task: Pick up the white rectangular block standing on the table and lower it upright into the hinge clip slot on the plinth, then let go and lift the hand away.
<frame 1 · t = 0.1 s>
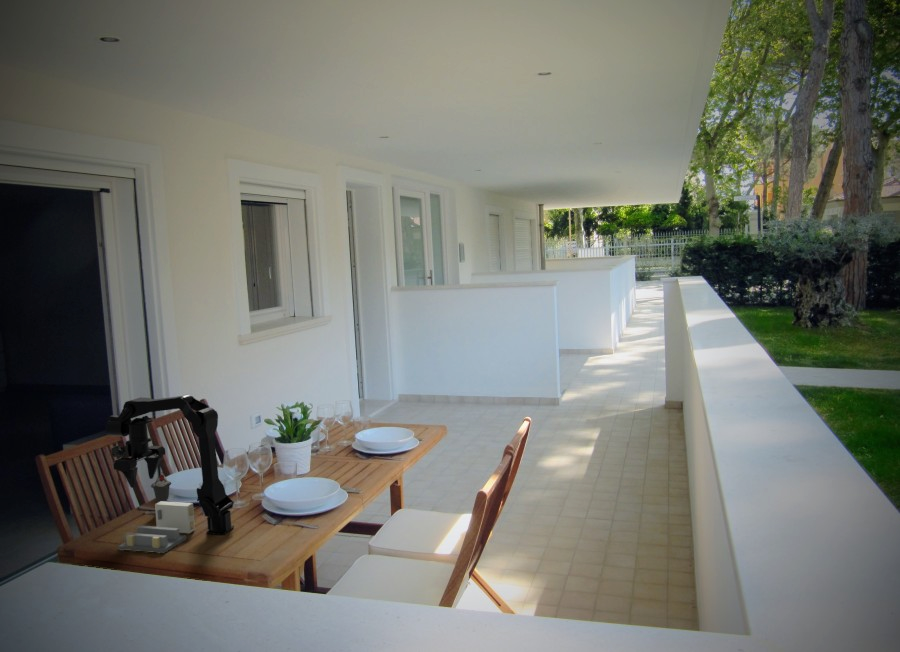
hand: (142, 482, 230), 15 cm above the table, tool pointing down, fingers open, 9 cm apart
white rectangular block: (175, 530, 227), on the table
clip plinth: (152, 544, 216), on the table
sundae: (163, 512, 244), on the table
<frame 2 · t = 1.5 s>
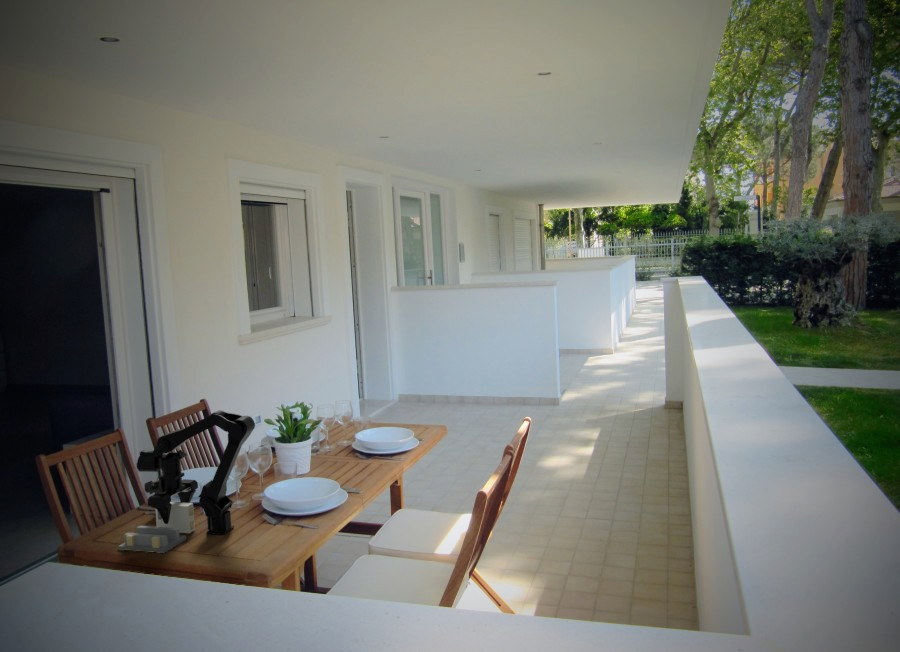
hand: (175, 518, 226), 4 cm above the table, tool pointing down, fingers open, 9 cm apart
nothing on the table moved.
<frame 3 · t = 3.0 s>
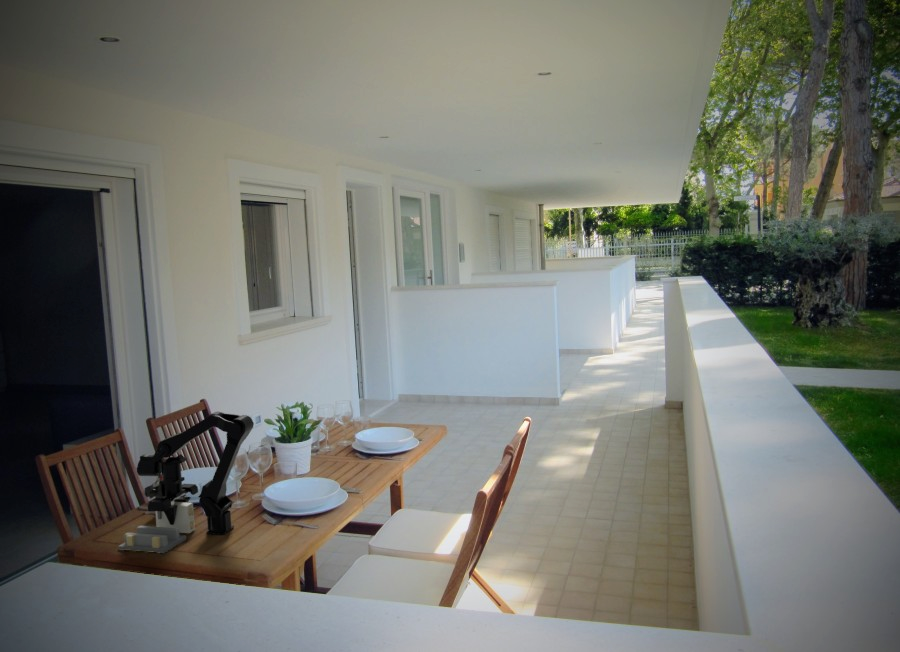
hand: (175, 522, 226), 3 cm above the table, tool pointing down, fingers closed on white rectangular block, 3 cm apart
white rectangular block: (175, 530, 227), on the table, touching gripper
everything else where it was.
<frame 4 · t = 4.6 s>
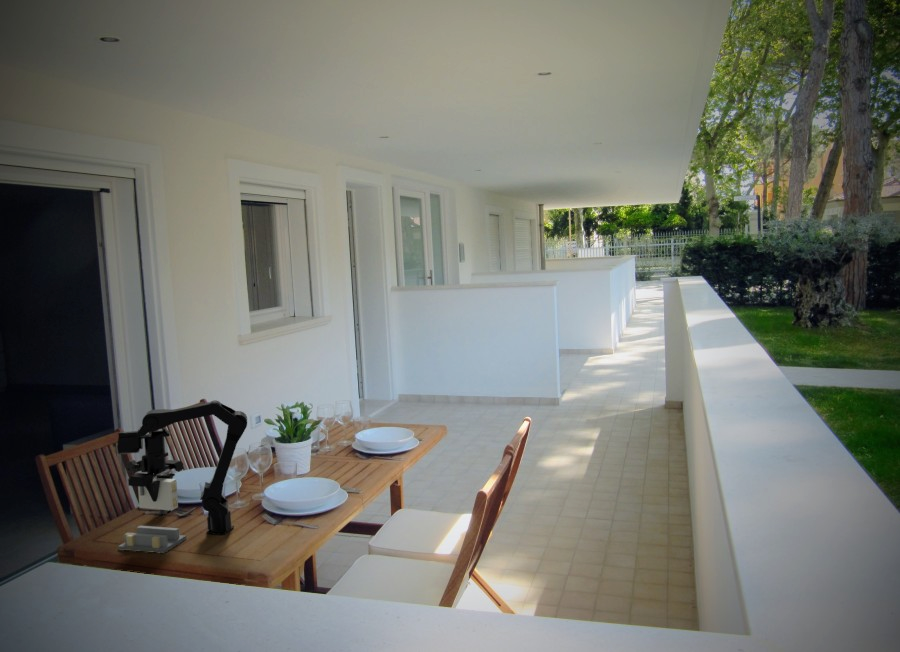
hand: (158, 499, 219), 13 cm above the table, tool pointing down, fingers closed on white rectangular block, 3 cm apart
white rectangular block: (158, 507, 219), point 10 cm above the table, touching gripper
everything else where it was.
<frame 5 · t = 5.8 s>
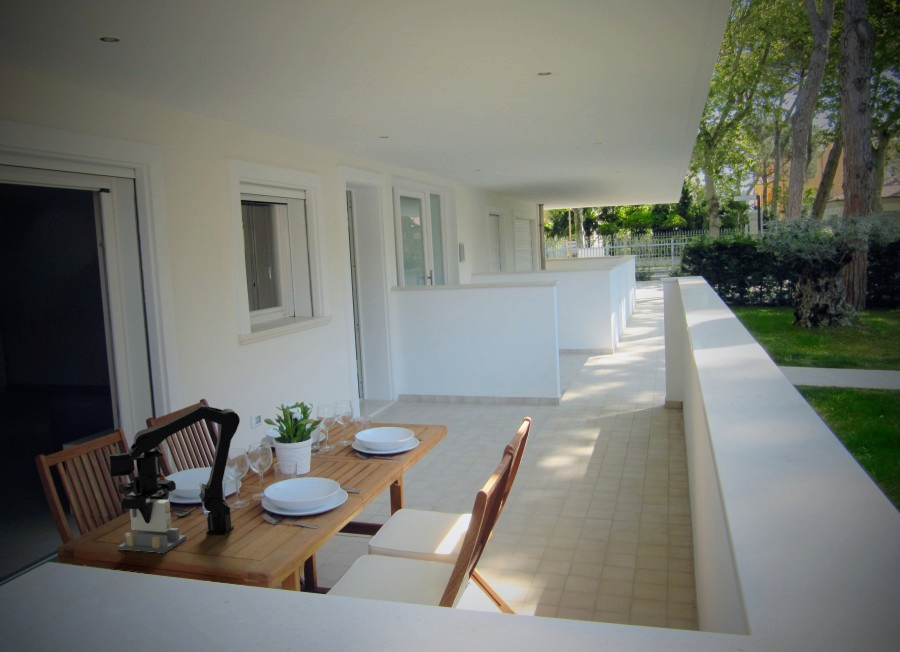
hand: (151, 521, 215), 7 cm above the table, tool pointing down, fingers closed on white rectangular block, 3 cm apart
white rectangular block: (151, 529, 215), point 5 cm above the table, touching gripper
everything else where it was.
when the fingers open (6 cm above the table, at t = 6.7 s): white rectangular block drops 2 cm, resting on clip plinth.
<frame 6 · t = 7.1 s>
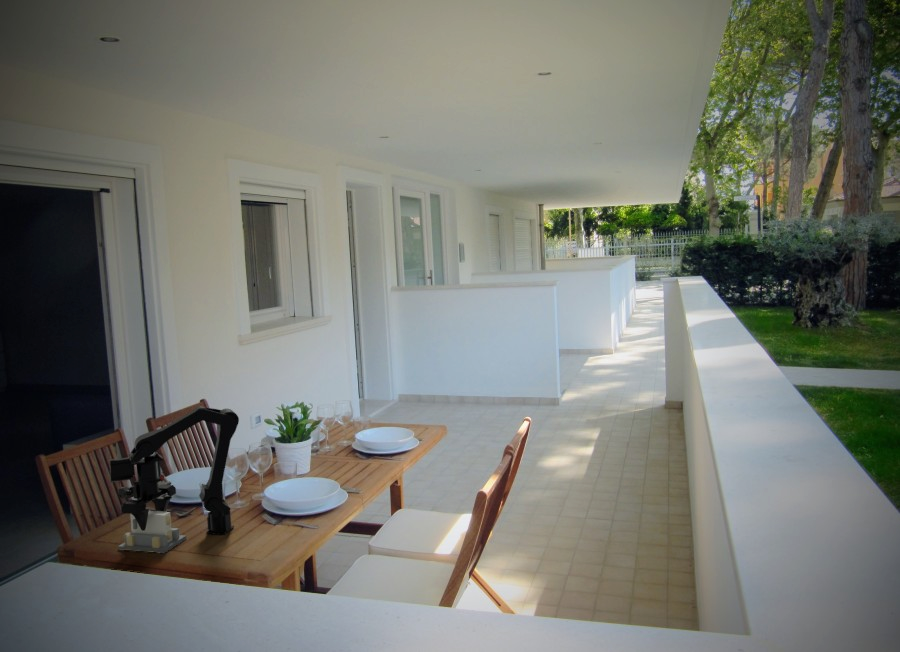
hand: (151, 525, 215), 6 cm above the table, tool pointing down, fingers open, 7 cm apart
white rectangular block: (152, 540, 215), point 1 cm above the table, touching clip plinth
everything else where it was.
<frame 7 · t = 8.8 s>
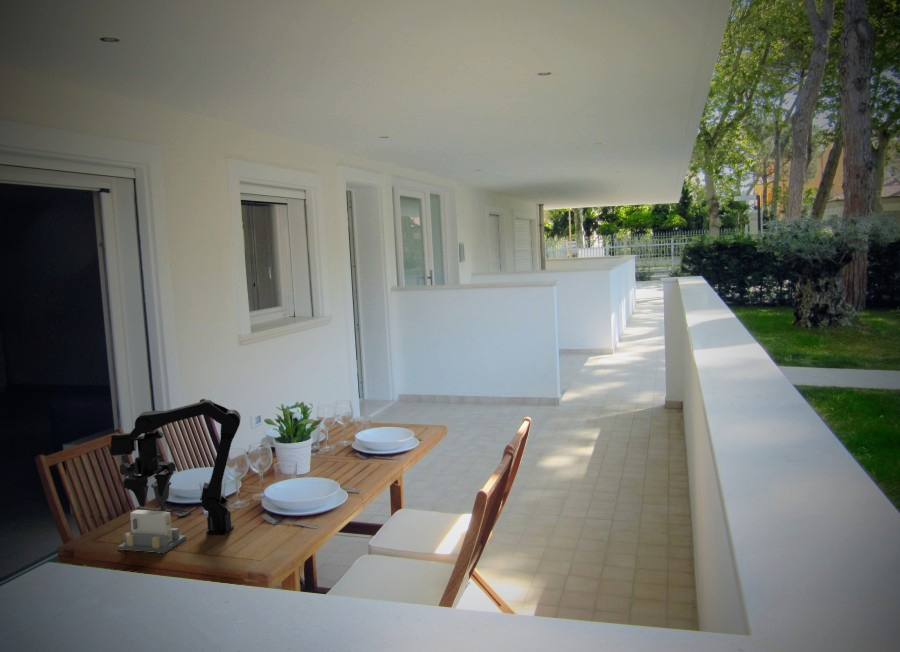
hand: (152, 501, 219), 12 cm above the table, tool pointing down, fingers open, 9 cm apart
nothing on the table moved.
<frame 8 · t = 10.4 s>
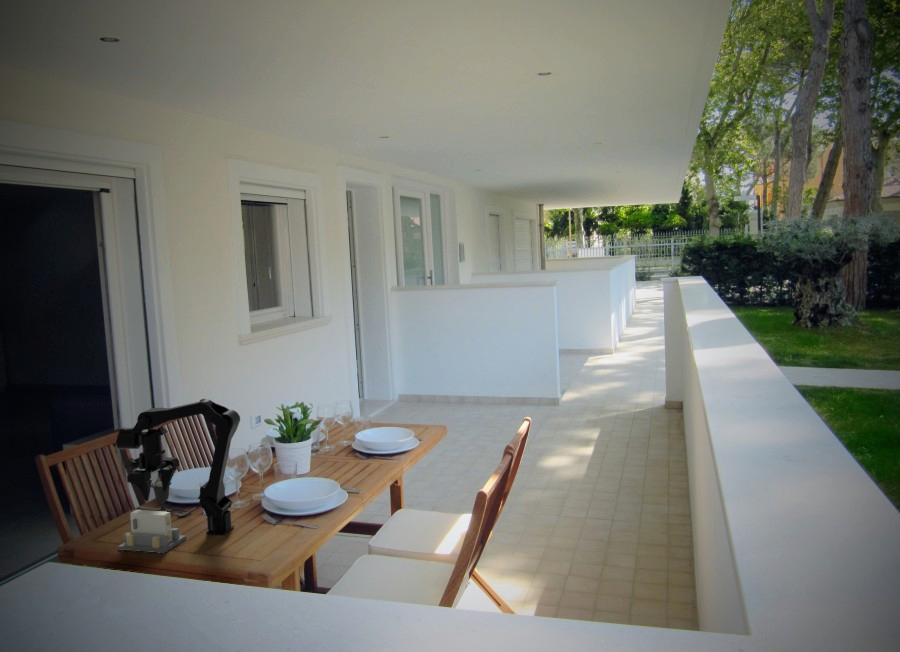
hand: (155, 495, 225), 12 cm above the table, tool pointing down, fingers open, 9 cm apart
nothing on the table moved.
at the end: white rectangular block 0.1 cm off-centre on the clip plinth, point 1.2 cm above the clip plinth's base; white rectangular block tilted 0°; the gripper is holding nothing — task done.
